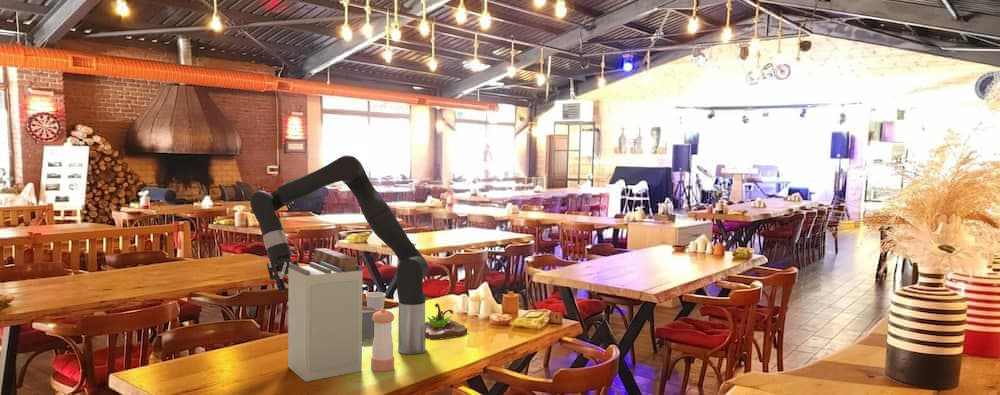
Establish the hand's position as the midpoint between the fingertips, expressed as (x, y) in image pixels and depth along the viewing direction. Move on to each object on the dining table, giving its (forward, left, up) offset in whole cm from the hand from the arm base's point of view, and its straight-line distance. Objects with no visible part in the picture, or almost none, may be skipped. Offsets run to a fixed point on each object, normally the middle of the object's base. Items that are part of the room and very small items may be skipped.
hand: (290, 290), depth 218 cm
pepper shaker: (-33, +13, -22) cm, 42 cm away
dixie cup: (-19, -52, -22) cm, 60 cm away
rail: (-16, +8, +10) cm, 21 cm away
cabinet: (-15, +15, -22) cm, 30 cm away
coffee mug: (-19, -26, -22) cm, 39 cm away
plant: (-48, -32, -23) cm, 62 cm away
